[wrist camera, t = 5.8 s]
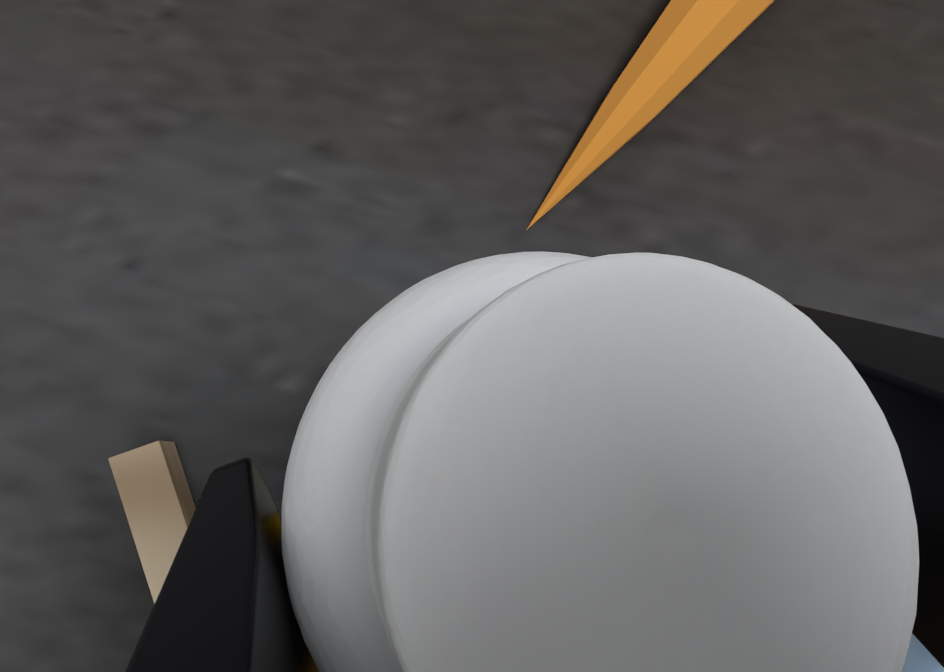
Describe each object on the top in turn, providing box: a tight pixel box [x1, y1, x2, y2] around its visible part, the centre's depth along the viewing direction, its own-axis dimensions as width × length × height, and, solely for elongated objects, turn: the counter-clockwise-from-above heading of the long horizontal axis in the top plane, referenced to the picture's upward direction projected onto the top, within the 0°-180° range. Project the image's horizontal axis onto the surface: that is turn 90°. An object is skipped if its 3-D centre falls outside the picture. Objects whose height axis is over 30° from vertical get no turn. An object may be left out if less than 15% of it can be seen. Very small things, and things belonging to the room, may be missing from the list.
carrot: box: [527, 0, 775, 229], centre depth 22 cm, size 20×4×4 cm, turn 141°
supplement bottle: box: [281, 252, 919, 672], centre depth 9 cm, size 6×6×10 cm
